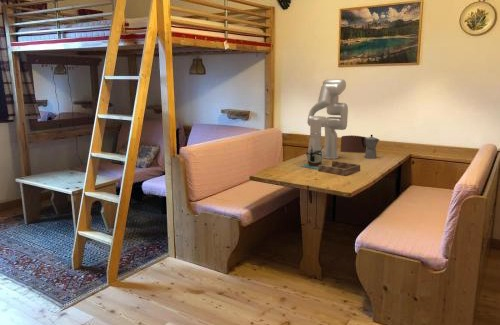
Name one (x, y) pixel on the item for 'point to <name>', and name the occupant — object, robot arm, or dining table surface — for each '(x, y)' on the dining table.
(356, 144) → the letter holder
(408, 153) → the dining table surface
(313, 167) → the mat
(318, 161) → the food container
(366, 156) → the coffeepot
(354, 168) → the frame
